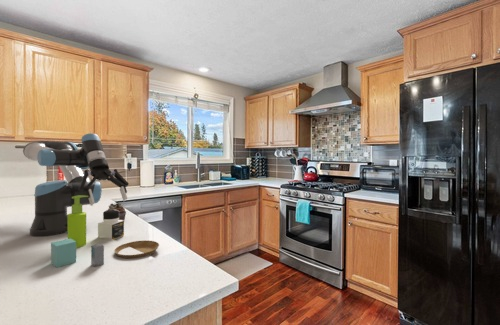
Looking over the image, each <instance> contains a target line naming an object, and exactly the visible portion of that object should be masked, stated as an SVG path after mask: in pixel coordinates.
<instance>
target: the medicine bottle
mask: <svg viewBox="0 0 500 325" xmlns="http://www.w3.org/2000/svg"><path fill="white" fill-rule="evenodd" d="M102 213H103V214H102V219H103V220H102V221H101V222H98V223H97V224H98V225H97V238H99V239H100V238H101V239H112V240H113V241H115V240H116V239H120V238H122V237H125V220H118V219H119V211H118V210H108V209H107V210H105V211H103V212H102Z"/></svg>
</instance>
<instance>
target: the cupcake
mask: <svg viewBox="0 0 500 325" xmlns="http://www.w3.org/2000/svg"><path fill="white" fill-rule="evenodd" d="M107 210H118V211H119V219H118V220H124V221H125V219H126V214H127V211H126V209H125V207H124V206H123V204H121V203H118V202H116V203H115V204H114V203H110V205H108V209H107Z"/></svg>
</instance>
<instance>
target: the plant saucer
mask: <svg viewBox="0 0 500 325" xmlns="http://www.w3.org/2000/svg"><path fill="white" fill-rule="evenodd" d="M159 246H160V244H159V242H157V241H154V240H136V241H131V242H127V243H123V244H121V245H119V246H117V247H116V248H115V249H114V253H115V254H116V255H117V256H118V257H120V258H125V259H135V258H141V257H142V258H143V257H144V256H145V257H146V256H151V255H153V254H154V253H155V252H156V251H157V250H158V248H159ZM126 248H131V249H132V250H136V251H139V252H140V253H137V254H120V253H119V252H121V251H122V250H124V249H126Z"/></svg>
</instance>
